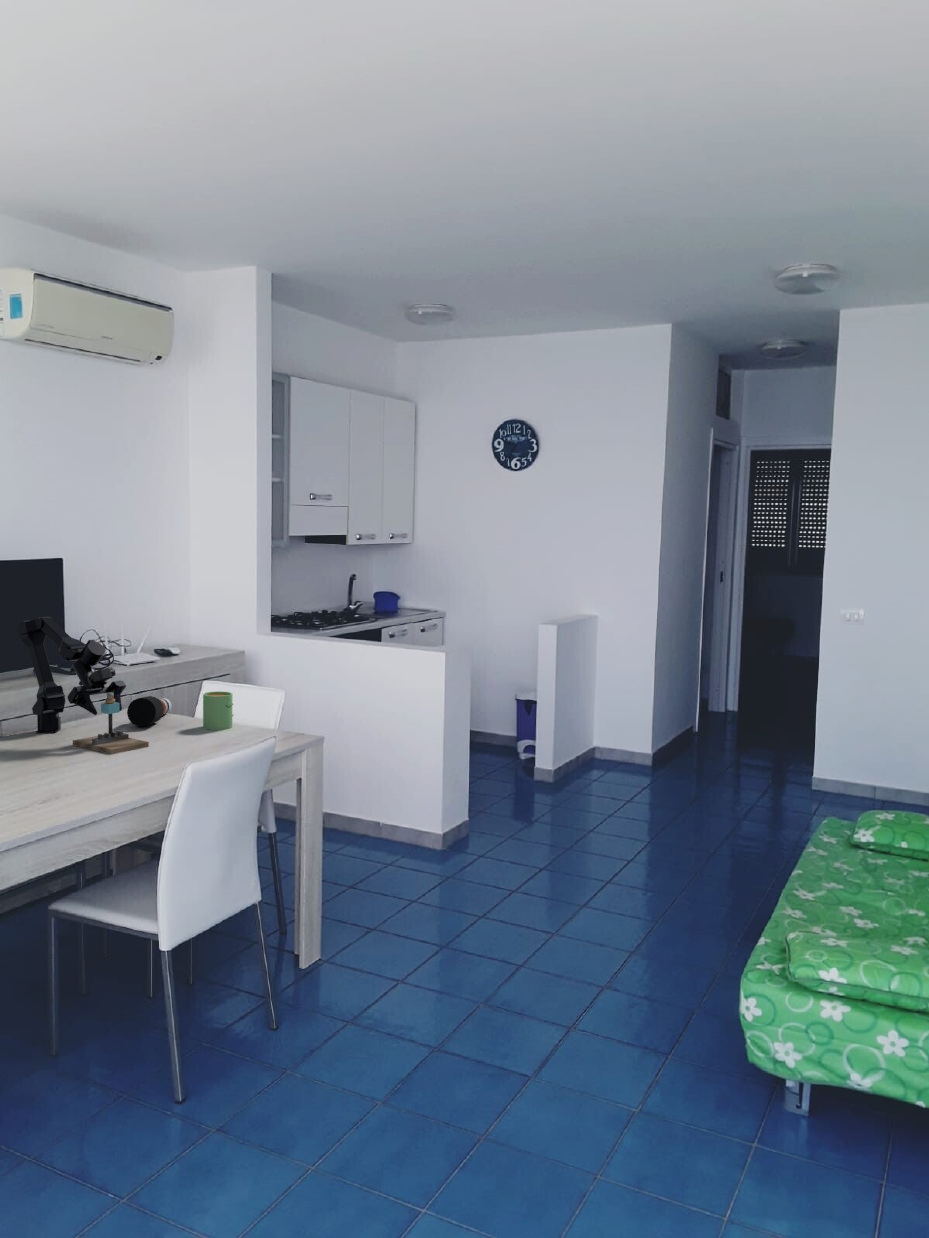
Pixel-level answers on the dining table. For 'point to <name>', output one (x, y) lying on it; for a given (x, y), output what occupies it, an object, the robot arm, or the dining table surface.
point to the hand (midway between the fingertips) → (108, 712)
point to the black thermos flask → (147, 710)
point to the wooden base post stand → (111, 738)
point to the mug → (217, 710)
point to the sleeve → (110, 708)
